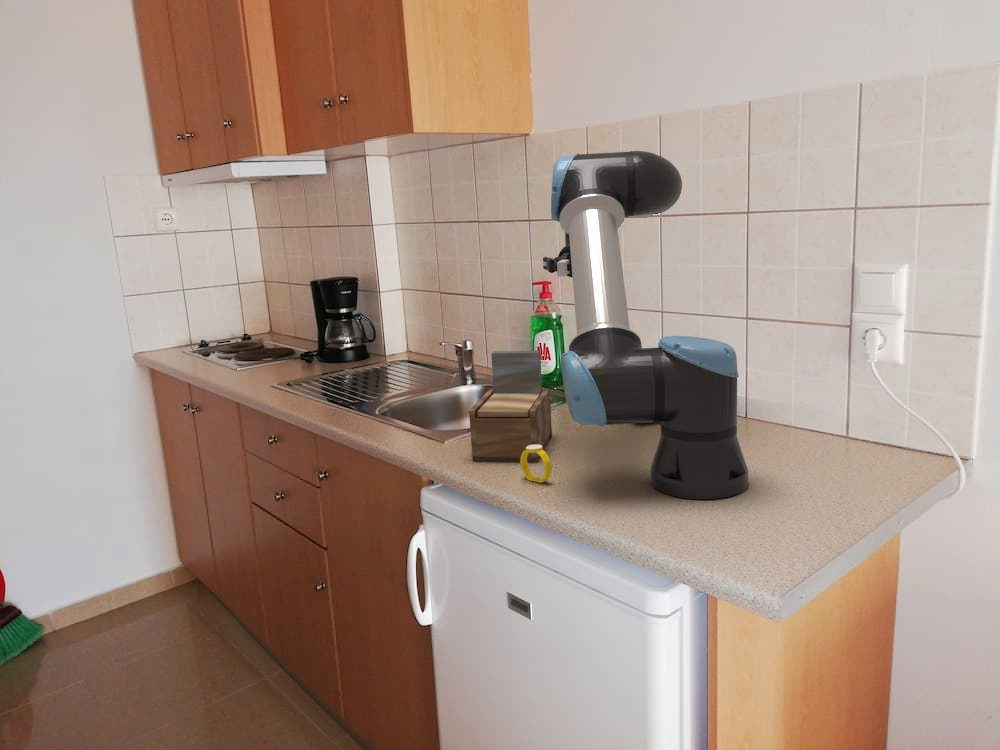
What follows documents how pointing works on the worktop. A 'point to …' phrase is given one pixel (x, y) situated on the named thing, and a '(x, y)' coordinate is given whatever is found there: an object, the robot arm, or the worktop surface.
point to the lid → (513, 384)
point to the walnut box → (510, 432)
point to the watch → (544, 457)
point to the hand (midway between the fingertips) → (561, 269)
